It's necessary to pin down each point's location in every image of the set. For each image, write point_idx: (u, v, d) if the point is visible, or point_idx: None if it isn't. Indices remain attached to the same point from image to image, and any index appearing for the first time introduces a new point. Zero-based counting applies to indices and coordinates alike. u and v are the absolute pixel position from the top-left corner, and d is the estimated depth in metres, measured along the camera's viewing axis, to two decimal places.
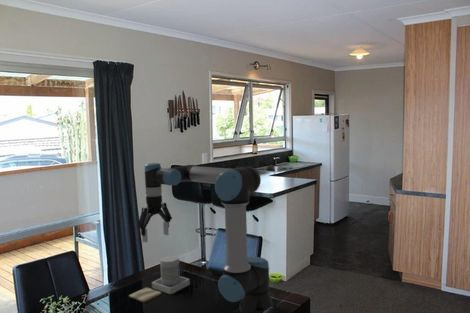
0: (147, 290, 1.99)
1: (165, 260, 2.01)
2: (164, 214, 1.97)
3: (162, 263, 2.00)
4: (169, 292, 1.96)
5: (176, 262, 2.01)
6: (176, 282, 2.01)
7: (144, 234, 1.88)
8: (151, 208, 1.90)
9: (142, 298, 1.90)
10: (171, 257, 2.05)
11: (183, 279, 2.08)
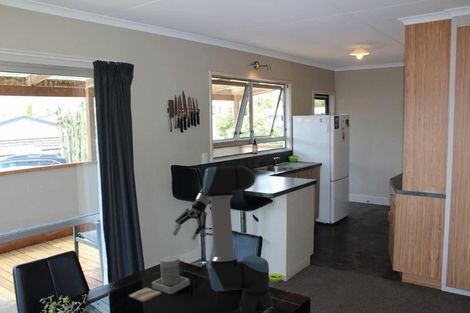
0: (147, 290, 1.99)
1: (165, 260, 2.01)
2: (198, 219, 2.13)
3: (162, 263, 2.00)
4: (169, 292, 1.96)
5: (176, 262, 2.01)
6: (176, 282, 2.01)
7: None
8: (191, 210, 2.20)
9: (142, 298, 1.90)
10: (171, 257, 2.05)
11: (183, 279, 2.08)
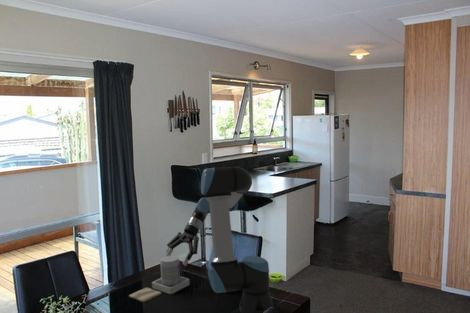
0: (147, 290, 1.99)
1: (165, 260, 2.01)
2: (190, 244, 2.09)
3: (162, 263, 2.00)
4: (169, 292, 1.96)
5: (176, 262, 2.01)
6: (176, 282, 2.01)
7: None
8: (183, 234, 2.16)
9: (142, 298, 1.90)
10: (171, 257, 2.05)
11: (183, 279, 2.08)
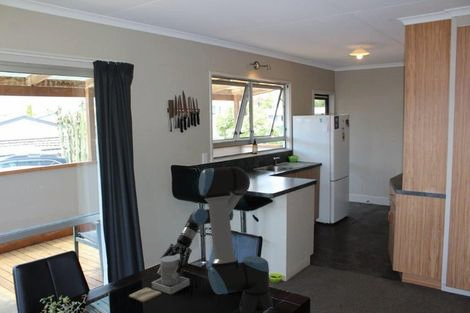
0: (147, 290, 1.99)
1: (165, 260, 2.01)
2: (181, 256, 2.04)
3: (162, 263, 2.00)
4: (169, 292, 1.96)
5: (176, 262, 2.01)
6: (176, 282, 2.01)
7: None
8: (176, 245, 2.11)
9: (142, 298, 1.90)
10: (171, 257, 2.05)
11: (183, 279, 2.08)
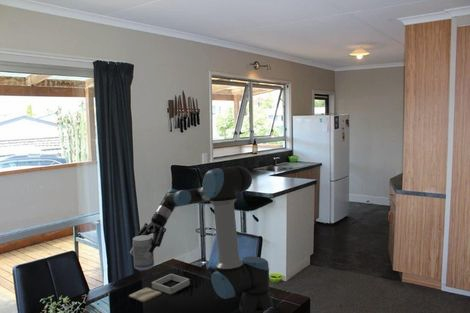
0: (147, 290, 1.99)
1: (137, 239, 1.90)
2: (154, 235, 1.93)
3: (134, 242, 1.89)
4: (169, 292, 1.96)
5: (149, 241, 1.90)
6: (149, 262, 1.90)
7: None
8: (150, 224, 2.00)
9: (142, 298, 1.90)
10: (144, 236, 1.94)
11: (183, 279, 2.08)
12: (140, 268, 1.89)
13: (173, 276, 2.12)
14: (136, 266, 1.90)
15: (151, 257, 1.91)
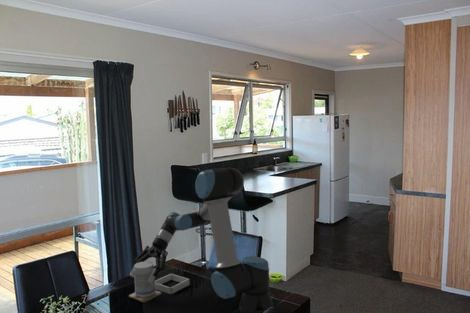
0: None
1: (139, 266, 1.91)
2: (157, 259, 1.94)
3: (135, 269, 1.91)
4: (169, 292, 1.96)
5: (150, 268, 1.92)
6: (150, 289, 1.91)
7: None
8: (151, 248, 2.01)
9: (142, 298, 1.90)
10: (145, 263, 1.96)
11: (183, 279, 2.08)
12: (141, 295, 1.91)
13: (173, 276, 2.12)
14: (137, 293, 1.91)
15: (152, 284, 1.93)
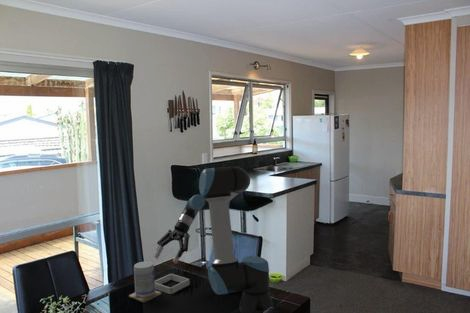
0: None
1: (139, 266, 1.91)
2: (180, 241, 2.06)
3: (135, 269, 1.91)
4: (169, 292, 1.96)
5: (150, 268, 1.92)
6: (150, 289, 1.92)
7: None
8: (173, 232, 2.13)
9: (142, 298, 1.90)
10: (145, 263, 1.96)
11: (183, 279, 2.08)
12: (141, 295, 1.91)
13: (173, 276, 2.12)
14: (137, 293, 1.91)
15: (152, 284, 1.93)
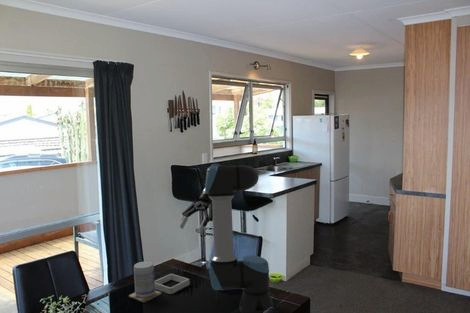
0: None
1: (139, 266, 1.91)
2: (205, 212, 2.11)
3: (135, 269, 1.91)
4: (169, 292, 1.96)
5: (150, 268, 1.92)
6: (150, 289, 1.92)
7: None
8: (198, 203, 2.18)
9: (142, 298, 1.90)
10: (145, 263, 1.96)
11: (183, 279, 2.08)
12: (141, 295, 1.91)
13: (173, 276, 2.12)
14: (137, 293, 1.91)
15: (152, 284, 1.93)
